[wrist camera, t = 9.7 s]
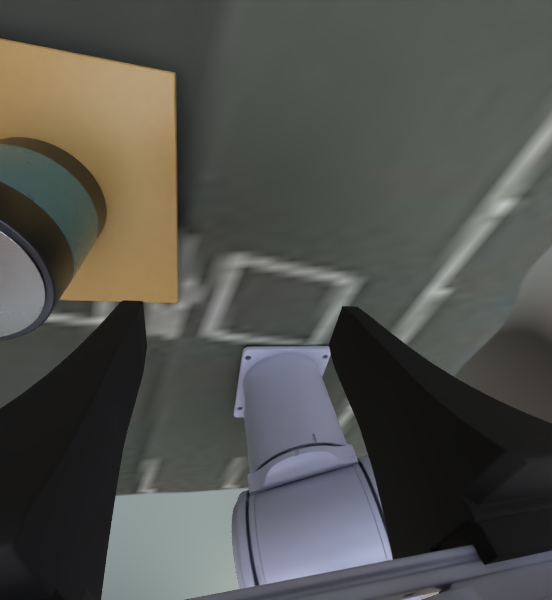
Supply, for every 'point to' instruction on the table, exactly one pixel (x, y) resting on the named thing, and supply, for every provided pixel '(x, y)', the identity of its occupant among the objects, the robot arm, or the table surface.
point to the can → (42, 229)
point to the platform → (106, 159)
